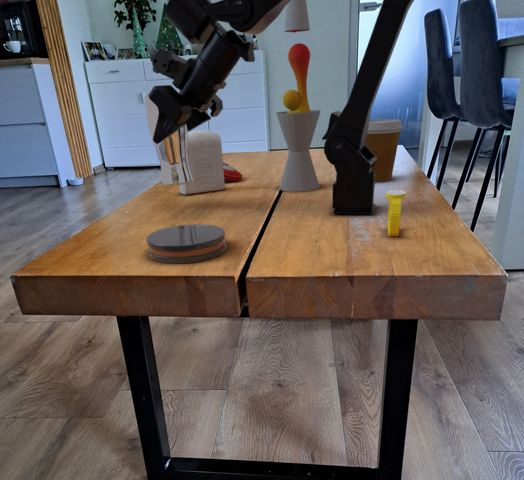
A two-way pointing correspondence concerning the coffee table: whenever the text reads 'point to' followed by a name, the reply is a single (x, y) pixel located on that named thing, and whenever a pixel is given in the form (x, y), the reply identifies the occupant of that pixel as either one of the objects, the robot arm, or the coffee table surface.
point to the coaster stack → (186, 243)
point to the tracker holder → (231, 173)
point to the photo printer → (204, 163)
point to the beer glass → (170, 150)
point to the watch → (394, 211)
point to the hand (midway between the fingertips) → (164, 139)
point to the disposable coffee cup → (383, 146)
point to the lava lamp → (298, 109)
